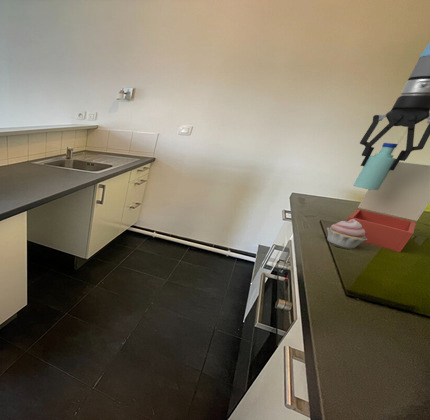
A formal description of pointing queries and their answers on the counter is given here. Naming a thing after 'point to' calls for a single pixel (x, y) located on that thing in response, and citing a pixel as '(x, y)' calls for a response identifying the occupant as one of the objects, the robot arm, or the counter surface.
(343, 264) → the counter surface
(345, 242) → the cupcake
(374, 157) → the bottle
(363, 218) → the box
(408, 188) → the lid
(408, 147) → the robot arm
